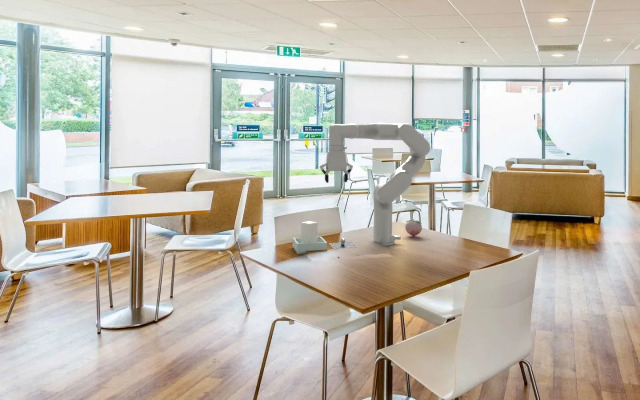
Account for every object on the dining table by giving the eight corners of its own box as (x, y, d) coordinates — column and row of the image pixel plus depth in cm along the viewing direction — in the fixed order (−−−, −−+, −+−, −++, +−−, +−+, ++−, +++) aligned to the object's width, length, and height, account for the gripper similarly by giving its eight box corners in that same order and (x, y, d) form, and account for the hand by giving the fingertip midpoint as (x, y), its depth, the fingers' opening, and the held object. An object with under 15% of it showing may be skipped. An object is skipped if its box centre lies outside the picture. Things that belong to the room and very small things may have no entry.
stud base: (351, 245, 259) (351, 235, 259) (357, 250, 248) (357, 240, 247) (328, 246, 257) (328, 236, 256) (333, 251, 245) (333, 241, 244)
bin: (320, 245, 257) (320, 236, 257) (327, 252, 243) (327, 242, 242) (292, 247, 254) (292, 237, 254) (297, 254, 240) (297, 243, 240)
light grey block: (309, 246, 253) (309, 221, 251) (317, 248, 249) (317, 222, 247) (301, 248, 249) (301, 222, 247) (309, 250, 245) (309, 223, 243)
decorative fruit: (423, 235, 283) (424, 218, 281) (420, 238, 275) (420, 220, 274) (407, 234, 287) (407, 216, 285) (403, 236, 279) (403, 219, 278)
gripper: (351, 148, 260) (350, 181, 263) (318, 148, 257) (318, 181, 259) (354, 148, 253) (354, 182, 255) (321, 149, 250) (321, 183, 252)
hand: (336, 182), depth 257 cm, fingers open, 9 cm apart
